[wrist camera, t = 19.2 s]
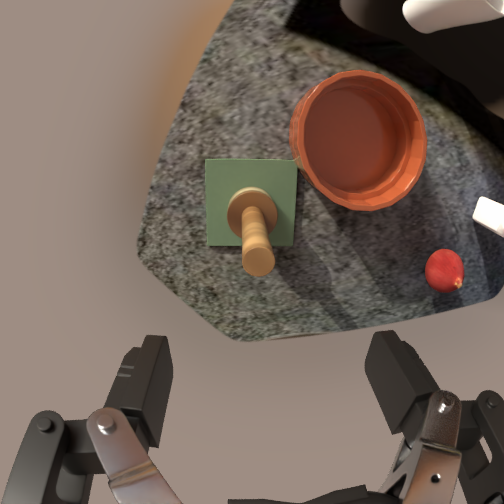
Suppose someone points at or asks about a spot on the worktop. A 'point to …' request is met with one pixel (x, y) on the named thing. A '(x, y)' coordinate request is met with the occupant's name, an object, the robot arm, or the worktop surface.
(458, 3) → the drinking glass
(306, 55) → the worktop surface
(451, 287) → the onion
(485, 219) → the pepper shaker
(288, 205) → the mat
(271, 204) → the dish brush
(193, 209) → the worktop surface
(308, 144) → the bowl
